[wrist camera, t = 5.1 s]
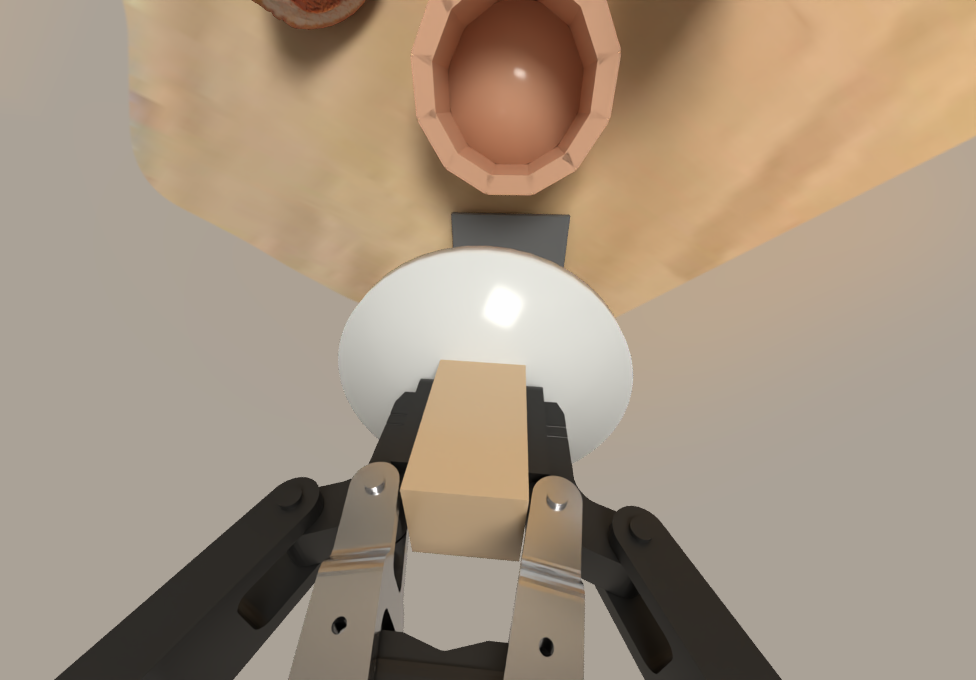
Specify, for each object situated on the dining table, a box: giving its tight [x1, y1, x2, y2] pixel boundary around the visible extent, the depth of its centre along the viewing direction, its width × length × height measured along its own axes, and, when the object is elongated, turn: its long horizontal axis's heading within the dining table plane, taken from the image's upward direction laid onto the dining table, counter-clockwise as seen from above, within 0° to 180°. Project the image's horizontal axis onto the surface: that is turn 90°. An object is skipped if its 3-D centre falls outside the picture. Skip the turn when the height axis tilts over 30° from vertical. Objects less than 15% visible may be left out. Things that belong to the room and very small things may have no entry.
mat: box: [451, 212, 570, 268], centre depth 32 cm, size 10×9×1 cm
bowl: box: [410, 0, 621, 195], centre depth 22 cm, size 12×12×6 cm
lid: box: [338, 246, 633, 561], centre depth 11 cm, size 11×11×6 cm
